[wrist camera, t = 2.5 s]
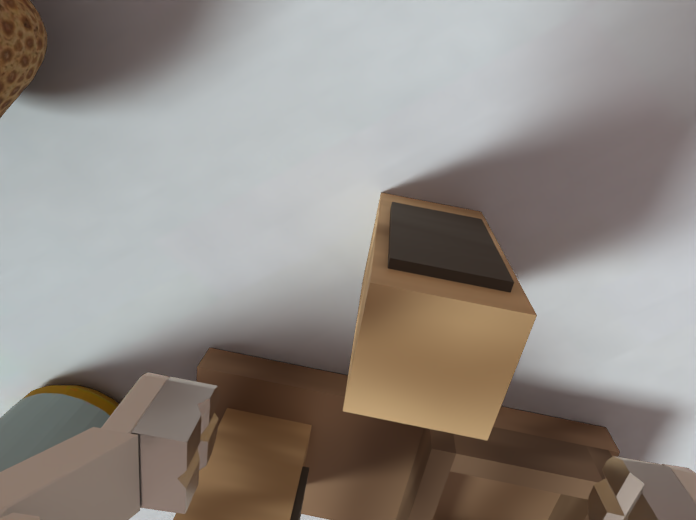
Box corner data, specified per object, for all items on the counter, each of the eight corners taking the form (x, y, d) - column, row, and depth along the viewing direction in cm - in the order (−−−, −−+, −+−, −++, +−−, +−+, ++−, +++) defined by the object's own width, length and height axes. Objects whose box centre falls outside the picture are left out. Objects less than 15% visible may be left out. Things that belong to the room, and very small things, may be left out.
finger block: (454, 299, 20) (487, 440, 13) (362, 281, 20) (342, 411, 13) (483, 204, 18) (541, 304, 11) (382, 185, 18) (372, 271, 11)
